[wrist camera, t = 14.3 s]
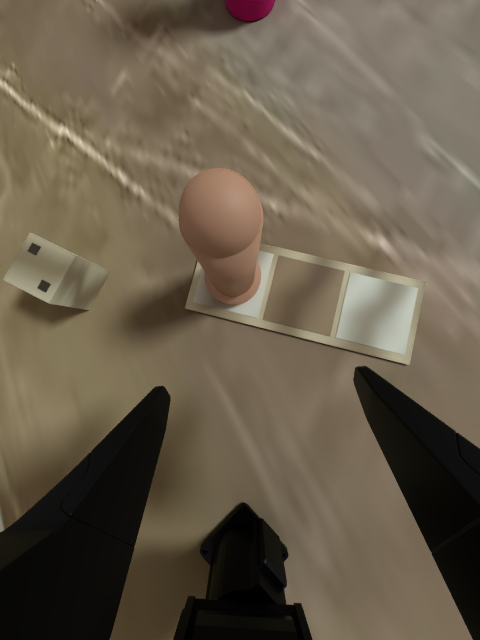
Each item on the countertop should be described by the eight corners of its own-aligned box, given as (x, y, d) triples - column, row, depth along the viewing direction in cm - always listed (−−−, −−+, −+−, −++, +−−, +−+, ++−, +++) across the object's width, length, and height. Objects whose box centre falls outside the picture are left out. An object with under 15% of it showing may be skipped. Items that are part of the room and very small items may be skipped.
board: (423, 282, 23) (426, 281, 23) (407, 364, 23) (409, 365, 22) (206, 231, 24) (206, 230, 24) (185, 308, 24) (184, 308, 23)
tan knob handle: (253, 310, 23) (266, 270, 9) (200, 298, 23) (131, 240, 9) (265, 258, 23) (296, 140, 9) (213, 247, 24) (166, 115, 10)
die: (89, 310, 24) (48, 303, 19) (52, 291, 24) (2, 279, 19) (110, 271, 24) (75, 254, 19) (73, 253, 25) (29, 231, 20)
